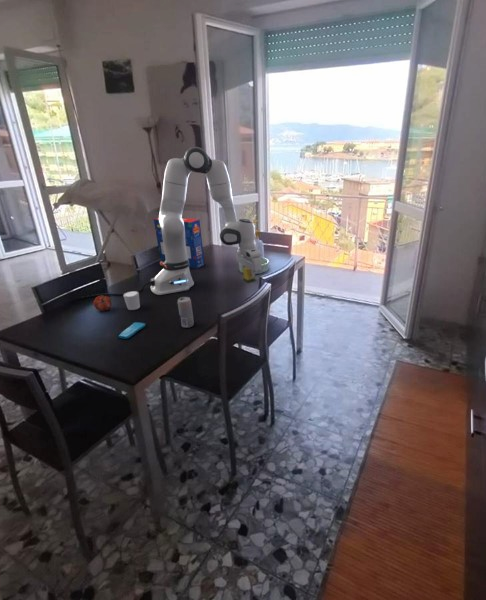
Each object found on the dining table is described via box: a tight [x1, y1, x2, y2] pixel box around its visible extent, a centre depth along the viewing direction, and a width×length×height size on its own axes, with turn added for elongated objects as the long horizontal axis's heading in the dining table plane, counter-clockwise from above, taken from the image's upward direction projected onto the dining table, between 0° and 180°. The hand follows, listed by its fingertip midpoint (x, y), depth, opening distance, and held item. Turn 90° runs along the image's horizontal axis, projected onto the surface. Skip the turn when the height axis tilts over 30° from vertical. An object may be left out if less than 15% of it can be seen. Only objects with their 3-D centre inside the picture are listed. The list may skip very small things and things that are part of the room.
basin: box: [238, 257, 270, 275], centre depth 209 cm, size 18×18×5 cm
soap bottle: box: [252, 219, 265, 258], centre depth 223 cm, size 9×9×25 cm
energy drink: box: [177, 296, 195, 329], centre depth 147 cm, size 5×5×12 cm
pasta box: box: [153, 217, 205, 270], centre depth 217 cm, size 28×8×28 cm, turn 64°
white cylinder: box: [122, 290, 141, 311], centre depth 165 cm, size 7×7×7 cm
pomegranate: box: [93, 295, 112, 312], centre depth 164 cm, size 7×7×10 cm
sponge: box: [118, 322, 146, 340], centre depth 146 cm, size 2×12×6 cm
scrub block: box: [242, 267, 256, 283], centre depth 193 cm, size 4×4×7 cm
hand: (249, 274), depth 193 cm, fingers open, 6 cm apart
